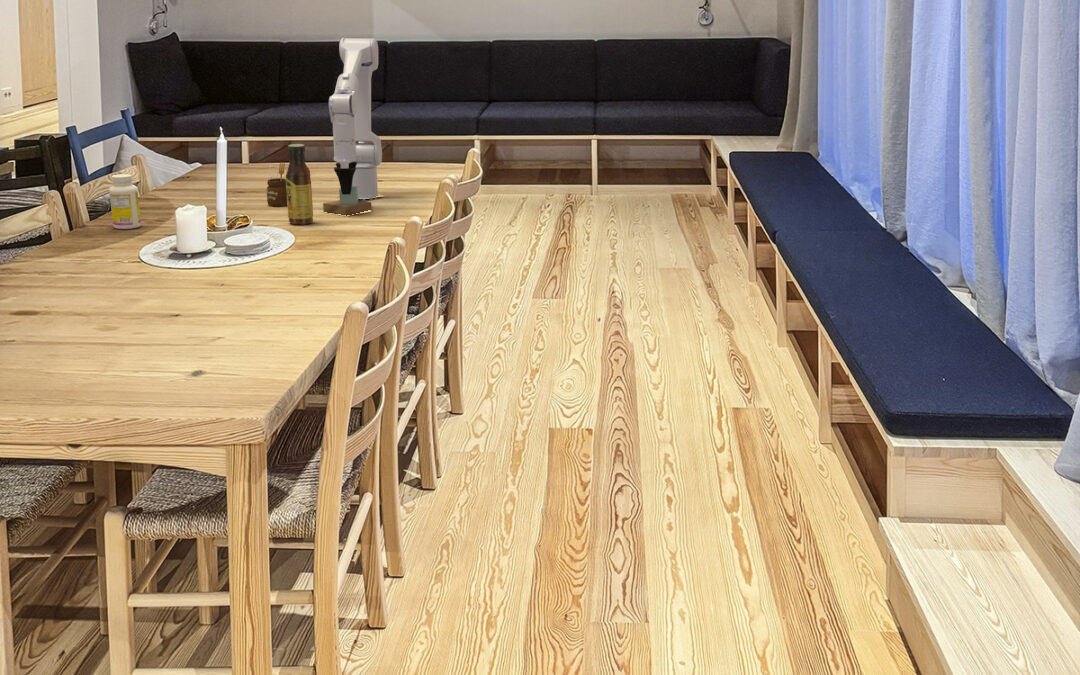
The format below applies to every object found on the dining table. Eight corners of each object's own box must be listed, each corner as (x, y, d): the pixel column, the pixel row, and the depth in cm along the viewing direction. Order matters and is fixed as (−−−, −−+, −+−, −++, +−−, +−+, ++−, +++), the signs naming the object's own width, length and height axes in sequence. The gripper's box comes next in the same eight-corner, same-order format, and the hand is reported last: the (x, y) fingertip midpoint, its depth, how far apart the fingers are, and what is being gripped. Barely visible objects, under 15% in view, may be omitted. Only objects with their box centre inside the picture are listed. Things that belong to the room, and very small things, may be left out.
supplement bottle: (130, 223, 280) (125, 172, 277) (147, 226, 277) (142, 175, 273) (107, 227, 275) (101, 175, 271) (124, 230, 272) (118, 178, 268)
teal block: (339, 204, 293) (339, 189, 292) (341, 201, 297) (340, 186, 296) (357, 204, 294) (356, 189, 292) (358, 201, 298) (357, 186, 297)
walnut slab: (323, 214, 296) (323, 203, 295) (348, 209, 303) (348, 198, 302) (346, 218, 290) (346, 207, 290) (371, 213, 297) (371, 202, 296)
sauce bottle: (290, 220, 284) (285, 142, 278) (314, 220, 285) (310, 142, 279) (286, 226, 278) (281, 146, 272) (312, 225, 279) (307, 146, 273)
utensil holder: (281, 202, 309) (279, 159, 306) (294, 205, 305) (291, 161, 302) (263, 205, 305) (260, 161, 302) (275, 208, 301) (272, 163, 298)
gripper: (359, 143, 284) (361, 196, 288) (360, 136, 298) (362, 186, 302) (331, 144, 283) (334, 196, 287) (333, 137, 297) (336, 187, 301)
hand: (346, 191), depth 295 cm, fingers open, 7 cm apart
